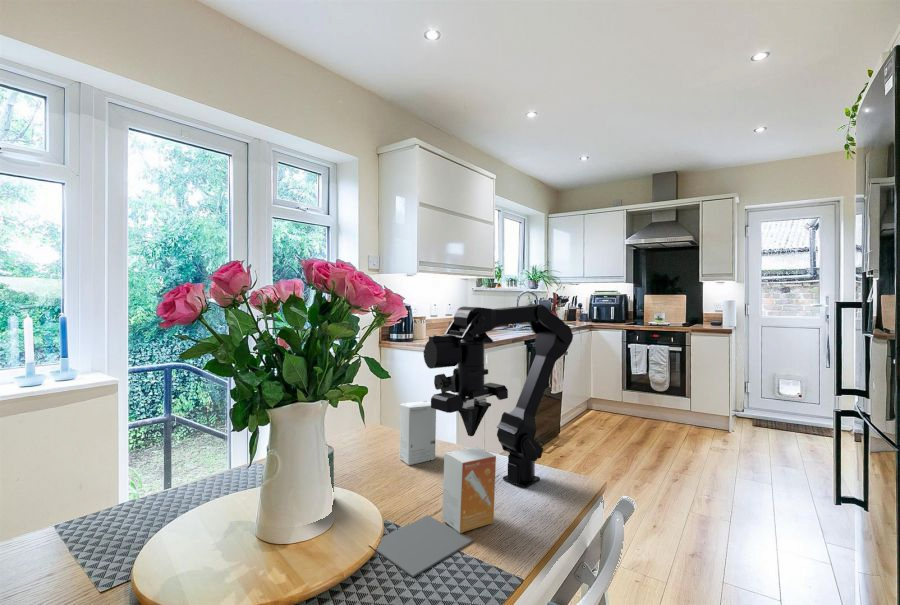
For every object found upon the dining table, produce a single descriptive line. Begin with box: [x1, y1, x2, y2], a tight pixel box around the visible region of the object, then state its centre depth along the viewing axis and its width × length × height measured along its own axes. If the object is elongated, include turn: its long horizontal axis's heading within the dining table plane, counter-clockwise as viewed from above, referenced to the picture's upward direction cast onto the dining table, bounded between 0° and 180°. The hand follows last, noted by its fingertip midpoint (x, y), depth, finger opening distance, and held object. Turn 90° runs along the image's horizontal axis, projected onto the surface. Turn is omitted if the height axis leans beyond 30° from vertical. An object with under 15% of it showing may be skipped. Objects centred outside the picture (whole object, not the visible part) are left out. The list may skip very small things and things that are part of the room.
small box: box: [441, 446, 497, 534], centre depth 84 cm, size 8×6×13 cm
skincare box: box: [398, 400, 437, 466], centre depth 115 cm, size 8×6×15 cm
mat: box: [375, 515, 474, 578], centre depth 76 cm, size 14×12×1 cm
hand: (470, 435), depth 95 cm, fingers closed
